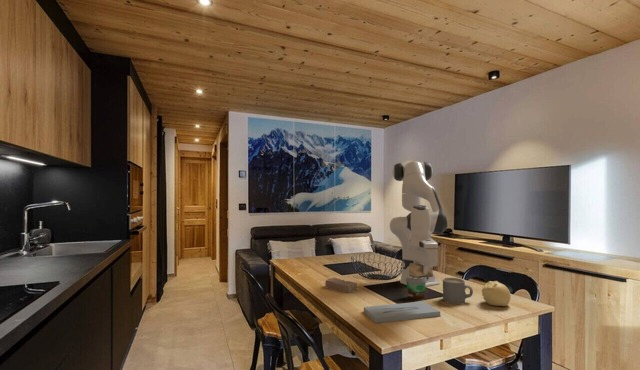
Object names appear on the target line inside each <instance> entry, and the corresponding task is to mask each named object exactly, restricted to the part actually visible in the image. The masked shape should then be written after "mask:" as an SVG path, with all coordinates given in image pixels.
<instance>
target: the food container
mask: <svg viewBox="0 0 640 370" xmlns="http://www.w3.org/2000/svg"><path fill="white" fill-rule="evenodd" d="M406 282H407V285H406V290H407V297H408V298H409V299H417V300H418V299H424V298H425V295H426V286H425V284H426V282H427V278H426V277H422V278H407V277H406Z"/></svg>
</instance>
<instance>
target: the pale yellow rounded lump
mask: <svg viewBox="0 0 640 370" xmlns="http://www.w3.org/2000/svg"><path fill="white" fill-rule="evenodd" d="M481 295H482V298H483V300H484V301H485V302H486V303H487V304H488V305H489V306H495V307H498V306H499V307H506V306H508V305H509V303H510V301H511V291H510V290H509V288H508V287H507V286H506V285H505V284H503V283H502V282H499V281H498V280H494V281H491V280H490V281H489V280H488V282H486V283H485V284H484V285H483V286H482V288H481Z"/></svg>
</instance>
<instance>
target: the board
mask: <svg viewBox="0 0 640 370" xmlns="http://www.w3.org/2000/svg"><path fill="white" fill-rule="evenodd" d="M363 312H364V313H365V314H366V315H367V316H368V317H369V318H370V319H371V320H372V321H373V322H374V323H375V324H377V323H388V322H398V321H407V320H415V319H416V320H417V319H424V318H425V319H426V318H434V317H435V318H436V317H441V310H438V309H437V308H436V307H434V306H432V305H431V304H429V303H427V302H425V301H423V300H422V301H415V302H413V301H412V302H405V303H404V302H402V303H394V304H393V303H391V304H381V305H380V304H379V305H372V306H370V305H369V306H363Z"/></svg>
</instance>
